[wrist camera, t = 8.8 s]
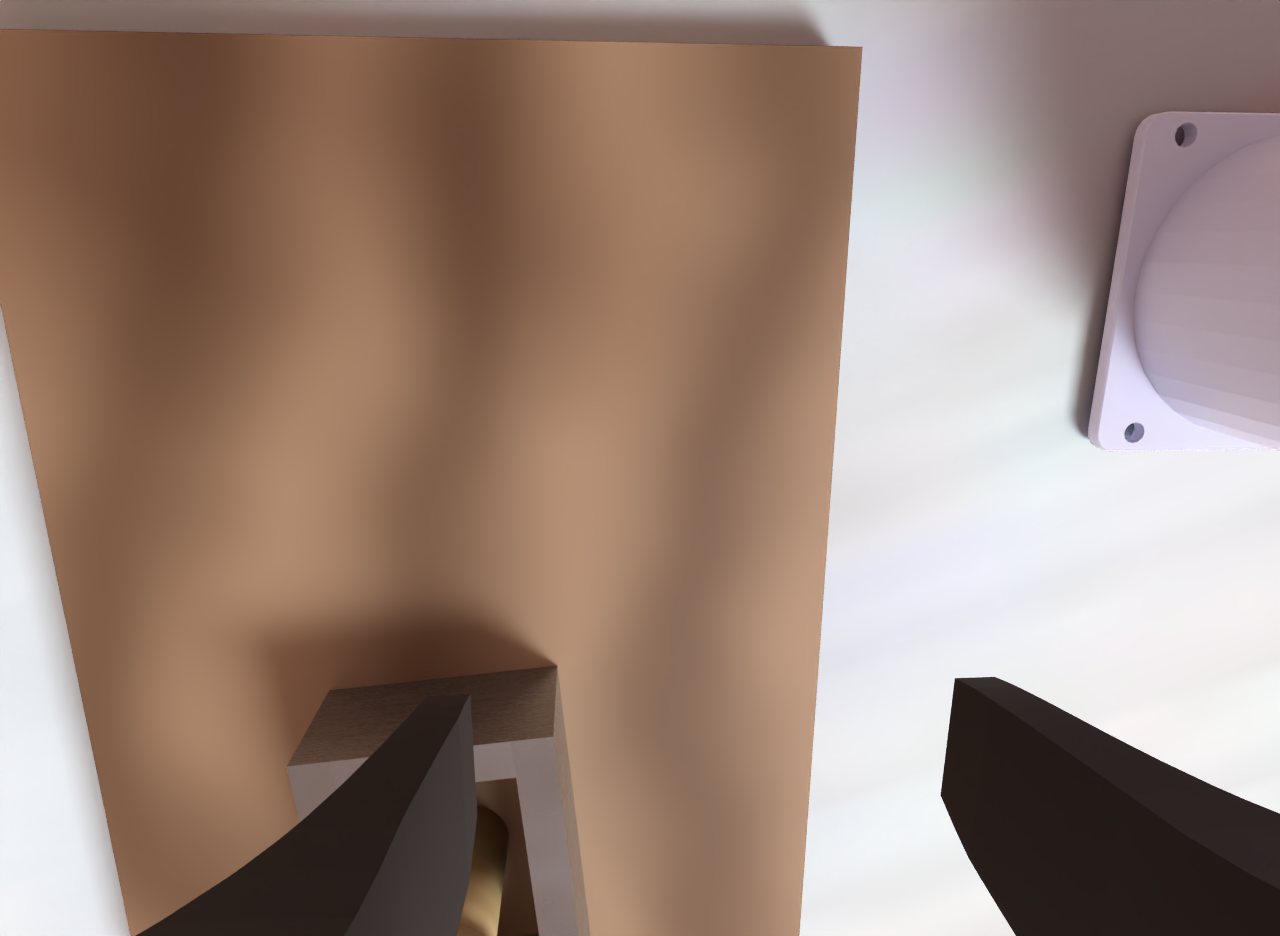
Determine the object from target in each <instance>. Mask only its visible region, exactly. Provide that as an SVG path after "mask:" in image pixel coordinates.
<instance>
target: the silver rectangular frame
mask: <svg viewBox="0 0 1280 936" xmlns="http://www.w3.org/2000/svg"><path fill="white" fill-rule="evenodd" d="M466 694H470V700H471V717H472V734H473V751H474V768H475V782H481V781H490V780H499V779H508V778H516V780H517V787H518V794H519V801H520V807H521V814H522V821H523V828H524V835H525V842H526V849H527V856H528V862H529V869H530V876H531V883H532V890H533V897H534V904H535V911H536V917H537V924H538V931H539V933H537V934H529V935H521V936H591V934H590V926H589V918H588V909H587V901H586V893H585V885H584V877H583V869H582V861H581V853H580V845H579V837H578V828H577V820H576V812H575V804H574V796H573V788H572V780H571V772H570V764H569V756H568V747H567V739H566V731H565V723H564V715H563V707H562V699H561V691H560V683H559V675H558V666H548V667H539V668H530V669H520V670H511V671H502V672H493V673H483V674H474V675H465V676H456V677H446V678H437V679H428V680H419V681H409V682H400V683H391V684H382V685H372V686H363V687H354V688H345V689H336V690H329V692H328V693H327V695H326V697H325V699H324V701H323V702H322V704H321V706H320V708H319V709H318V711H317V713H316V715H315V717H314V718H313V720H312V722H311V724H310V725H309V727H308V729H307V731H306V733H305V734H304V736H303V738H302V740H301V742H300V743H299V745H298V747H297V749H296V750H295V752H294V754H293V756H292V758H291V759H290V761H289V763H288V765H287V771H288V775H289V779H290V783H291V788H292V792H293V796H294V800H295V805H296V809H297V813H298V817H299V822H301V821H302V820H303V819H304V818H306V817H307V816H308V815H309V814H310V813H311V812H312V811H313V810H314V809H316V808H317V807H318V806H319V805H320V804H321V803H322V802H323V801H324V800H325V799H327V798H328V797H329V796H330V795H331V794H332V793H333V792H334V791H335V790H336V789H337V788H339V787H340V786H341V785H342V784H343V783H344V782H345V781H346V780H347V779H348V778H349V777H350V776H351V775H352V774H353V773H354V772H355V771H356V770H357V769H358V768H359V767H360V766H361V765H362V764H363V763H364V762H365V761H366V760H367V759H368V758H369V757H370V756H371V755H372V754H373V753H374V752H375V751H376V750H377V749H378V748H379V746H380V745H381V744H382V743H383V742H384V741H385V740H386V739H387V738H388V737H389V736H390V735H391V734H392V733H393V732H394V730H395V729H396V728H397V727H398V726H399V725H400V724H401V723H402V722H403V721H404V720H405V719H406V717H407V716H408V715H409V714H410V713H411V712H412V711H413V710H414V709H415V708H416V707H417V706H418V705H419V704H420V703H421V702H422V701H423V700H424V699H425V698H426V697H427V696H436V695H466Z"/></svg>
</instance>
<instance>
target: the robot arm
mask: <svg viewBox="0 0 1280 936" xmlns="http://www.w3.org/2000/svg"><path fill="white" fill-rule="evenodd" d="M1180 126H1181V127H1182V128H1183V130H1184V131H1185V138H1184V141H1183V143H1182V144H1181V145H1180V146H1178V144H1177V143H1176V141H1175V134H1176V131H1177V129H1178V128H1179V127H1180ZM1132 423H1133V424H1134V431H1133V433H1132V435H1131V436H1130V437H1128V438H1126V439H1125V436H1124V432H1125V430H1126V428H1127V427H1128V426H1129V425H1130V424H1132ZM1088 438H1089V440H1090V442H1091V443H1092V444H1093V445H1094V446H1096V447H1097V448H1099V449H1102V450H1105V451H1110V452H1127V451H1198V450H1270V449H1275V450H1278V451H1280V113H1238V112H1173V111H1167V112H1162V113H1158V114H1153V115H1150V116H1148V117H1147V118H1145V119H1144V120H1143V121H1142V122H1141V123H1140V125H1139V126H1138V127H1137V130H1136V133H1135V136H1134V142H1133V149H1132V155H1131V161H1130V168H1129V174H1128V180H1127V187H1126V193H1125V199H1124V206H1123V212H1122V218H1121V225H1120V231H1119V237H1118V244H1117V250H1116V256H1115V263H1114V269H1113V275H1112V282H1111V288H1110V294H1109V301H1108V307H1107V313H1106V320H1105V326H1104V333H1103V339H1102V345H1101V352H1100V358H1099V364H1098V371H1097V377H1096V383H1095V390H1094V396H1093V402H1092V409H1091V415H1090V421H1089V428H1088ZM941 797H942V799H943V802H944V804H945V806H946V809H947V811H948V813H949V816H950V818H951V820H952V823H953V825H954V827H955V830H956V832H957V834H958V836H959V838H960V840H961V843H962V845H963V847H964V849H965V851H966V853H967V855H968V858H969V859H970V861H971V863H972V864H973V866H974V868H975V870H976V871H977V873H978V875H979V876H980V878H981V880H982V881H983V883H984V884H985V886H986V888H987V889H988V891H989V893H990V894H991V896H992V898H993V899H994V901H995V903H996V904H997V906H998V907H999V909H1000V911H1001V912H1002V914H1003V916H1004V917H1005V919H1006V920H1007V922H1008V924H1009V925H1010V927H1011V928H1012V930H1013V932H1014V933H1015V935H1016V936H1280V814H1279V813H1277V812H1274V811H1272V810H1269V809H1267V808H1264V807H1262V806H1259V805H1257V804H1254V803H1252V802H1250V801H1247V800H1245V799H1242V798H1240V797H1238V796H1235V795H1233V794H1231V793H1228V792H1226V791H1224V790H1222V789H1219V788H1217V787H1215V786H1213V785H1210V784H1208V783H1206V782H1204V781H1202V780H1200V779H1198V778H1196V777H1194V776H1191V775H1189V774H1187V773H1185V772H1183V771H1181V770H1179V769H1177V768H1175V767H1172V766H1170V765H1168V764H1166V763H1164V762H1162V761H1160V760H1158V759H1156V758H1154V757H1152V756H1150V755H1148V754H1146V753H1144V752H1142V751H1140V750H1138V749H1136V748H1134V747H1132V746H1130V745H1128V744H1126V743H1124V742H1122V741H1120V740H1119V739H1117V738H1115V737H1113V736H1111V735H1109V734H1107V733H1105V732H1103V731H1101V730H1099V729H1098V728H1096V727H1094V726H1092V725H1090V724H1088V723H1086V722H1084V721H1082V720H1081V719H1079V718H1077V717H1075V716H1073V715H1071V714H1069V713H1067V712H1065V711H1064V710H1062V709H1060V708H1058V707H1056V706H1054V705H1052V704H1050V703H1048V702H1047V701H1045V700H1043V699H1041V698H1039V697H1037V696H1035V695H1033V694H1031V693H1029V692H1027V691H1025V690H1023V689H1021V688H1019V687H1017V686H1015V685H1012V684H1010V683H1008V682H1006V681H1003V680H1001V679H998V678H996V677H981V678H955V683H954V691H953V699H952V707H951V715H950V724H949V732H948V740H947V748H946V756H945V764H944V773H943V781H942V789H941ZM476 822H477V801H476V784H475V768H474V751H473V734H472V717H471V700H470V694H466V695H436V696H427V697H426V698H425V699H424V700H423V701H422V702H421V703H420V704H419V705H418V706H417V707H416V708H415V709H414V710H413V711H412V712H411V713H410V714H409V715H408V716H407V717H406V719H405V720H404V721H403V722H402V723H401V724H400V725H399V726H398V727H397V728H396V729H395V730H394V732H393V733H392V734H391V735H390V736H389V737H388V738H387V739H386V740H385V741H384V742H383V743H382V744H381V745H380V746H379V748H378V749H377V750H376V751H375V752H374V753H373V754H372V755H371V756H370V757H369V758H368V759H367V760H366V761H365V762H364V763H363V764H362V765H361V766H360V767H359V768H358V769H357V770H356V771H355V772H354V773H353V774H352V775H351V776H350V777H349V778H348V779H347V780H346V781H345V782H344V783H343V784H342V785H341V786H340V787H339V788H337V789H336V790H335V791H334V792H333V793H332V794H331V795H330V796H329V797H328V798H327V799H325V800H324V801H323V802H322V803H321V804H320V805H319V806H318V807H317V808H316V809H314V810H313V811H312V812H311V813H310V814H309V815H308V816H307V817H306V818H304V819H303V820H302V821H301V822H300V823H298V824H297V825H296V826H295V827H294V828H293V829H291V830H290V831H289V832H288V833H286V834H285V835H284V836H283V837H281V838H280V839H279V840H278V841H276V842H275V843H274V844H272V845H271V846H270V847H268V848H267V849H266V850H264V851H263V852H262V853H260V854H259V855H258V856H256V857H255V858H254V859H252V860H251V861H250V862H248V863H247V864H246V865H244V866H243V867H242V868H240V869H239V870H237V871H236V872H235V873H233V874H232V875H230V876H229V877H227V878H226V879H224V880H223V881H221V882H220V883H218V884H217V885H215V886H214V887H212V888H211V889H209V890H207V891H206V892H204V893H203V894H201V895H200V896H198V897H197V898H195V899H194V900H192V901H191V902H189V903H187V904H186V905H184V906H183V907H181V908H180V909H178V910H177V911H175V912H174V913H172V914H171V915H169V916H167V917H166V918H164V919H163V920H161V921H160V922H158V923H156V924H155V925H153V926H151V927H149V928H148V929H146V930H144V931H143V932H141V933H139V934H137V935H136V936H457V932H458V927H459V923H460V919H461V915H462V911H463V907H464V902H465V898H466V894H467V890H468V885H469V880H470V872H471V864H472V856H473V848H474V840H475V831H476Z"/></svg>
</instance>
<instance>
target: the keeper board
mask: <svg viewBox="0 0 1280 936" xmlns="http://www.w3.org/2000/svg"><path fill="white" fill-rule="evenodd" d="M861 59H862V47H848V46H799V45H751V44H702V43H653V42H604V41H556V40H507V39H458V38H410V37H361V36H312V35H264V34H215V33H166V32H117V31H69V30H20V29H0V303H1V308H2V313H3V318H4V323H5V328H6V332H7V337H8V342H9V347H10V352H11V357H12V362H13V366H14V371H15V376H16V381H17V386H18V391H19V396H20V400H21V405H22V410H23V415H24V420H25V425H26V430H27V434H28V439H29V444H30V449H31V454H32V459H33V464H34V468H35V473H36V478H37V483H38V488H39V493H40V498H41V502H42V507H43V512H44V517H45V522H46V527H47V531H48V536H49V541H50V546H51V551H52V556H53V561H54V565H55V570H56V575H57V580H58V585H59V590H60V595H61V599H62V604H63V609H64V614H65V619H66V624H67V629H68V633H69V638H70V643H71V648H72V653H73V658H74V663H75V667H76V672H77V677H78V682H79V687H80V692H81V697H82V701H83V706H84V711H85V716H86V721H87V726H88V731H89V735H90V740H91V745H92V750H93V755H94V760H95V764H96V769H97V774H98V779H99V784H100V789H101V794H102V798H103V803H104V808H105V813H106V818H107V823H108V828H109V832H110V837H111V842H112V847H113V852H114V857H115V862H116V866H117V871H118V876H119V881H120V886H121V891H122V896H123V900H124V905H125V910H126V915H127V920H128V925H129V930H130V934H131V936H136V935H137V934H139V933H141V932H143V931H144V930H146V929H148V928H149V927H151V926H153V925H155V924H156V923H158V922H160V921H161V920H163V919H164V918H166V917H167V916H169V915H171V914H172V913H174V912H175V911H177V910H178V909H180V908H181V907H183V906H184V905H186V904H187V903H189V902H191V901H192V900H194V899H195V898H197V897H198V896H200V895H201V894H203V893H204V892H206V891H207V890H209V889H211V888H212V887H214V886H215V885H217V884H218V883H220V882H221V881H223V880H224V879H226V878H227V877H229V876H230V875H232V874H233V873H235V872H236V871H237V870H239V869H240V868H242V867H243V866H244V865H246V864H247V863H248V862H250V861H251V860H252V859H254V858H255V857H256V856H258V855H259V854H260V853H262V852H263V851H264V850H266V849H267V848H268V847H270V846H271V845H272V844H274V843H275V842H276V841H278V840H279V839H280V838H281V837H283V836H284V835H285V834H286V833H288V832H289V831H290V830H291V829H293V828H294V827H295V826H296V825H297V824H298V823H300V822H299V817H298V813H297V809H296V805H295V800H294V796H293V792H292V788H291V783H290V779H289V775H288V771H287V765H288V763H289V761H290V759H291V758H292V756H293V754H294V752H295V750H296V749H297V747H298V745H299V743H300V742H301V740H302V738H303V736H304V734H305V733H306V731H307V729H308V727H309V725H310V724H311V722H312V720H313V718H314V717H315V715H316V713H317V711H318V709H319V708H320V706H321V704H322V702H323V701H324V699H325V697H326V695H327V693H328V692H329V690H336V689H345V688H354V687H363V686H372V685H382V684H391V683H400V682H409V681H419V680H428V679H437V678H446V677H456V676H465V675H474V674H483V673H493V672H502V671H511V670H520V669H530V668H539V667H548V666H558V675H559V683H560V691H561V699H562V707H563V715H564V723H565V731H566V739H567V747H568V756H569V764H570V772H571V780H572V788H573V796H574V804H575V812H576V820H577V828H578V837H579V845H580V853H581V861H582V869H583V877H584V885H585V893H586V901H587V909H588V918H589V926H590V934H591V936H799V932H800V918H801V904H802V890H803V876H804V862H805V848H806V834H807V819H808V805H809V791H810V777H811V763H812V749H813V735H814V721H815V707H816V693H817V679H818V664H819V650H820V636H821V622H822V608H823V594H824V580H825V566H826V552H827V538H828V524H829V509H830V495H831V481H832V467H833V453H834V439H835V425H836V411H837V397H838V383H839V369H840V354H841V340H842V326H843V312H844V298H845V284H846V270H847V256H848V242H849V228H850V214H851V199H852V185H853V171H854V157H855V143H856V129H857V115H858V101H859V87H860V73H861ZM475 784H476V801H477V822H476V831H475V840H474V848H473V856H472V864H471V872H470V880H469V885H468V890H467V894H466V898H465V902H464V907H463V911H462V915H461V919H460V923H459V927H458V932H457V936H521V935H529V934H537V933H539V931H538V924H537V917H536V911H535V904H534V897H533V890H532V883H531V876H530V869H529V862H528V856H527V849H526V842H525V835H524V828H523V821H522V814H521V807H520V801H519V794H518V787H517V780H516V778H508V779H499V780H490V781H481V782H475Z"/></svg>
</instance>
